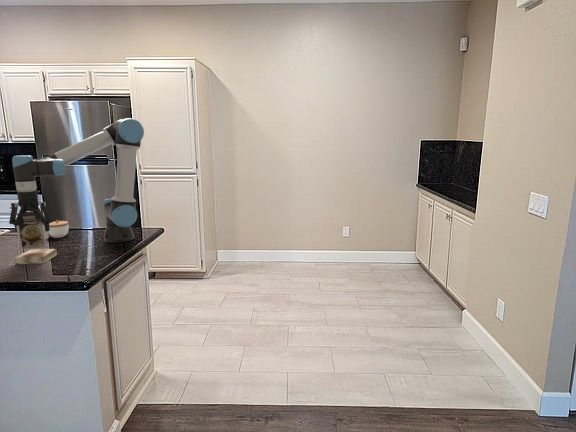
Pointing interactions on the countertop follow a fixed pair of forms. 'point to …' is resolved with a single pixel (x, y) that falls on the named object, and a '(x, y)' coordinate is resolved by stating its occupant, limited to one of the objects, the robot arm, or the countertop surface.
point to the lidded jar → (58, 229)
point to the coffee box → (31, 230)
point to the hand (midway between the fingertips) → (33, 238)
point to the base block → (36, 256)
